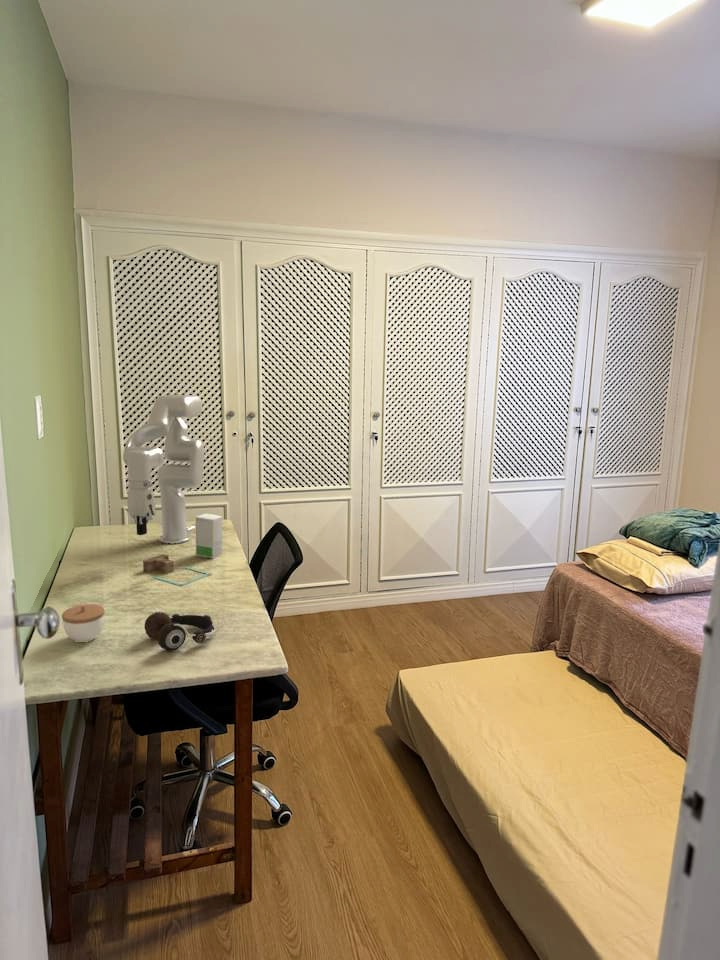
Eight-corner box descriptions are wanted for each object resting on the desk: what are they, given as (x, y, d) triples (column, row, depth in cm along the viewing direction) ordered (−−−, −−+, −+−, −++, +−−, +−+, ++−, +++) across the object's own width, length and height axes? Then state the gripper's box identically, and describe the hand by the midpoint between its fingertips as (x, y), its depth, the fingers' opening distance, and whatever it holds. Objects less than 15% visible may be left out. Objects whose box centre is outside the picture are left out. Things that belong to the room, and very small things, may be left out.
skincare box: (195, 556, 249) (194, 516, 245) (205, 551, 255) (204, 512, 251) (213, 559, 246) (212, 519, 242) (223, 554, 252) (222, 515, 248)
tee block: (143, 571, 231) (142, 560, 230) (163, 564, 239) (162, 554, 238) (160, 576, 227) (160, 565, 226) (180, 569, 234) (179, 558, 233)
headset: (139, 608, 179) (205, 601, 193) (137, 635, 180) (202, 626, 193) (166, 629, 167) (234, 620, 180) (163, 657, 167) (231, 646, 181)
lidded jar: (114, 632, 183) (112, 600, 181) (90, 649, 172) (87, 616, 171) (80, 627, 185) (78, 596, 183) (55, 644, 175) (52, 611, 173)
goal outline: (183, 566, 237) (183, 566, 237) (211, 574, 229) (211, 573, 229) (153, 577, 225) (153, 577, 225) (181, 586, 218) (181, 585, 218)
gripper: (162, 485, 230) (164, 535, 234) (134, 480, 238) (136, 529, 242) (145, 488, 224) (147, 539, 227) (117, 483, 232) (119, 533, 235)
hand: (141, 534), depth 234 cm, fingers closed
